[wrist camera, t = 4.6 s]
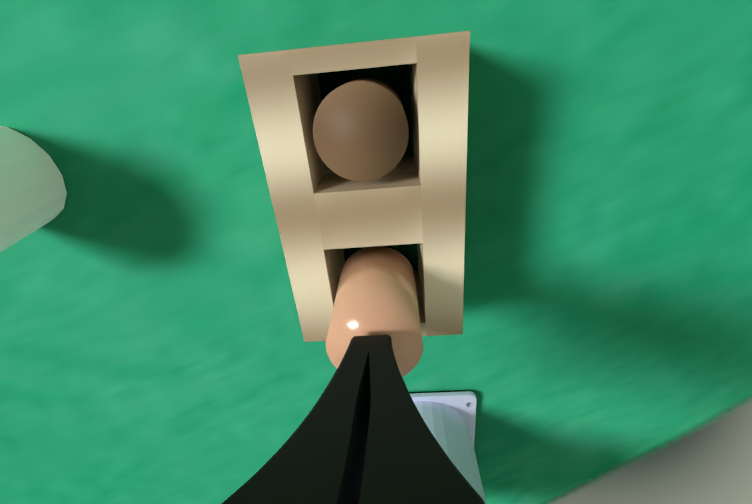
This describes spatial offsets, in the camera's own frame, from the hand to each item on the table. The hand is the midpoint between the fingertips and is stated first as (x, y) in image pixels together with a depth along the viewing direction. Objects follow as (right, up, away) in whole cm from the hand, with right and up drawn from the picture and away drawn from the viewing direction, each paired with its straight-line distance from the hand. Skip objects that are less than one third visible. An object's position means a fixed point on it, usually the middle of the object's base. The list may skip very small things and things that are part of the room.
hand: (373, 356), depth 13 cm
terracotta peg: (0, +2, +5) cm, 5 cm away
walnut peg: (0, +10, +5) cm, 11 cm away
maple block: (0, +7, +7) cm, 10 cm away
